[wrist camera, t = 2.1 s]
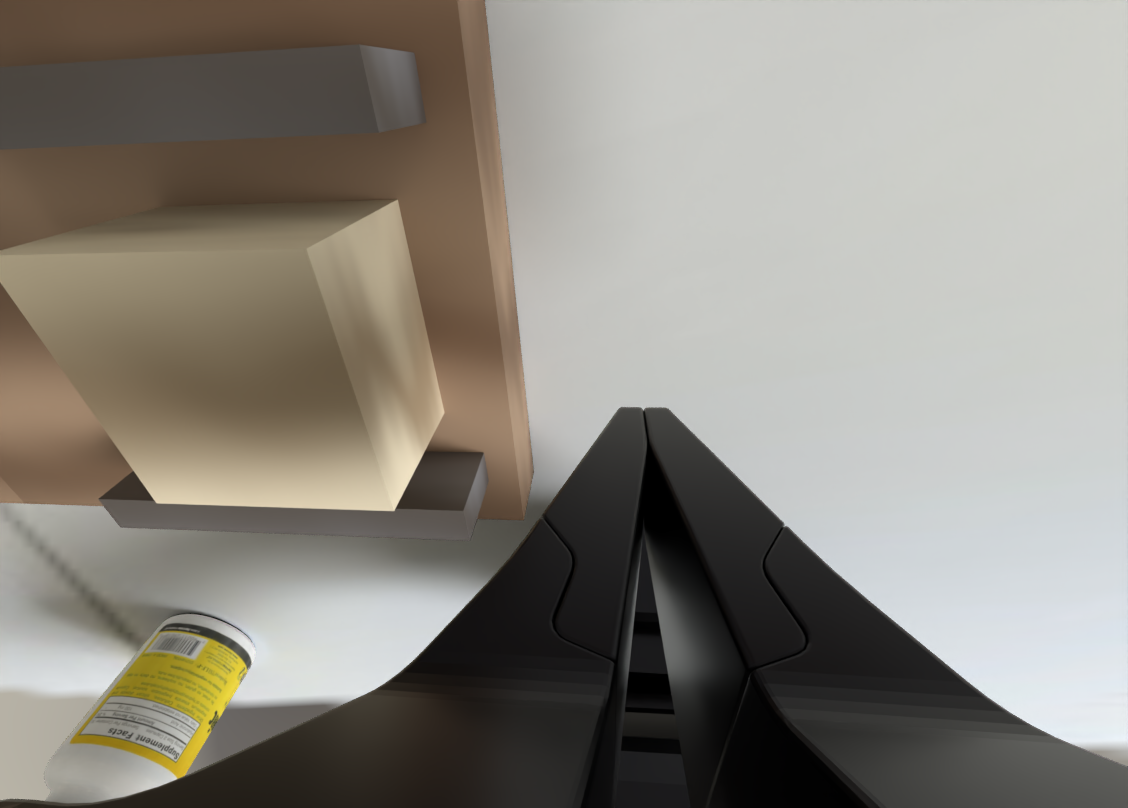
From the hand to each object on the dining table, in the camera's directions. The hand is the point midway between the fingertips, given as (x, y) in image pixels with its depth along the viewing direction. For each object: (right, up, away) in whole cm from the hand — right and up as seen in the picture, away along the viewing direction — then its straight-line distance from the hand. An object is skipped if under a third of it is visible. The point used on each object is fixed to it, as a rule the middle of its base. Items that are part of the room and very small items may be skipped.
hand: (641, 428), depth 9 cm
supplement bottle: (-22, -13, +20) cm, 32 cm away
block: (-8, +3, +4) cm, 10 cm away
